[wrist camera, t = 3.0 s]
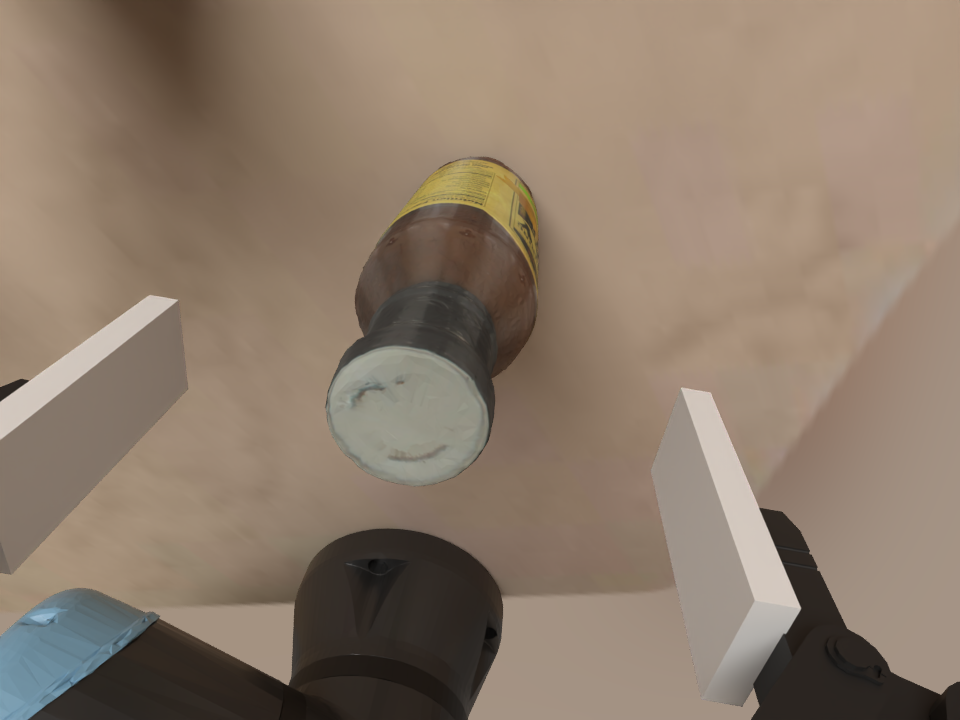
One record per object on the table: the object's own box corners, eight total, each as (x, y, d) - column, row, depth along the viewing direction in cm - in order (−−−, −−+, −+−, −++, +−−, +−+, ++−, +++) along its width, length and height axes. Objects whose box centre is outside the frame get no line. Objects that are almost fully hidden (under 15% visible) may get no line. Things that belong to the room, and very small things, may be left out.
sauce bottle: (519, 282, 34) (493, 561, 17) (407, 251, 34) (262, 502, 16) (555, 165, 31) (570, 359, 13) (432, 130, 31) (286, 281, 13)
